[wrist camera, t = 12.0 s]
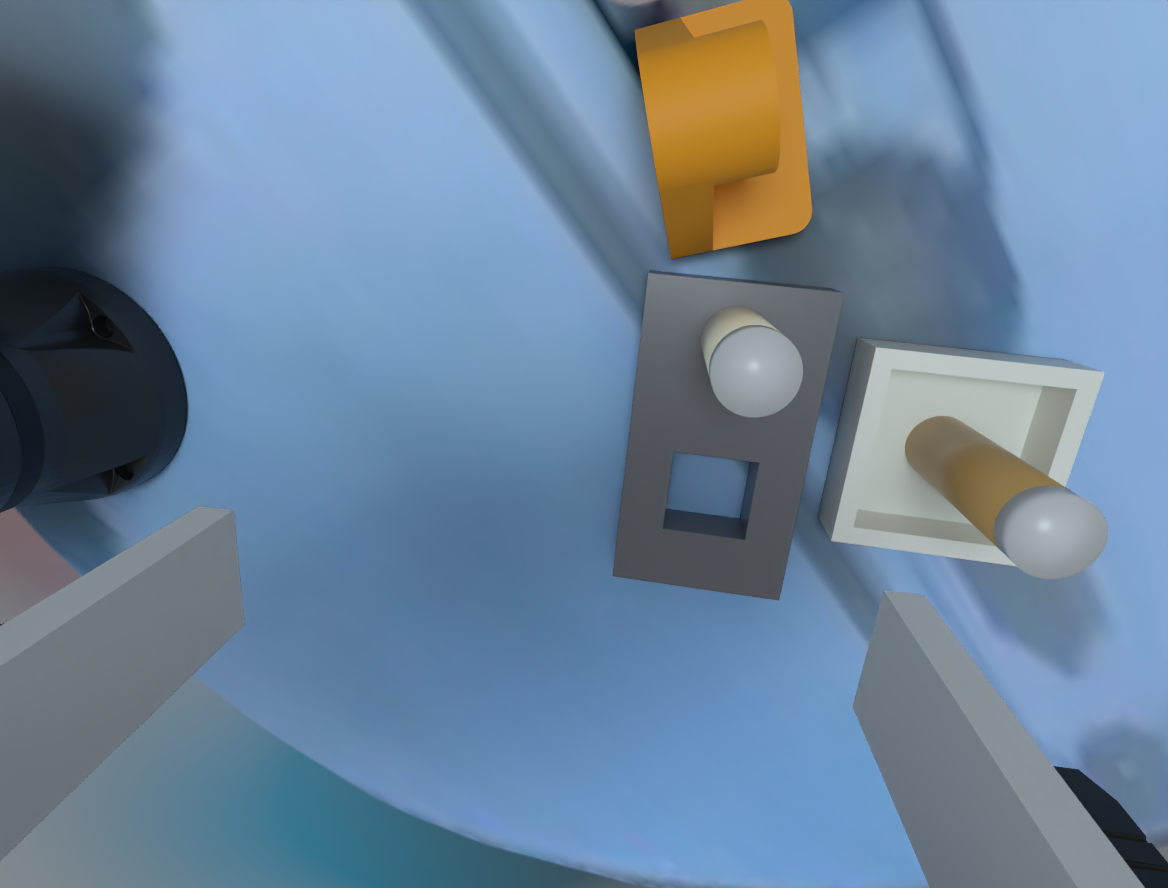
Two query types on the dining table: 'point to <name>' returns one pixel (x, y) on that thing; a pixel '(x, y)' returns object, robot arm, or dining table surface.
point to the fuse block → (723, 425)
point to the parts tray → (956, 389)
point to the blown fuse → (1008, 499)
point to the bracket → (726, 125)
